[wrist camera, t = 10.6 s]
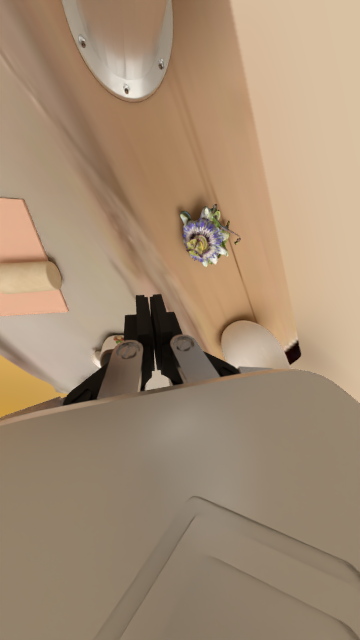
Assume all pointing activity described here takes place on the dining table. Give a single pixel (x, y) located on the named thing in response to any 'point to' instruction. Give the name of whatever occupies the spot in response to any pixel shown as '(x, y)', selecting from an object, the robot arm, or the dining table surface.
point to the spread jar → (107, 350)
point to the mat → (23, 260)
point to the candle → (29, 277)
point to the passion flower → (205, 236)
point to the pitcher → (252, 346)
